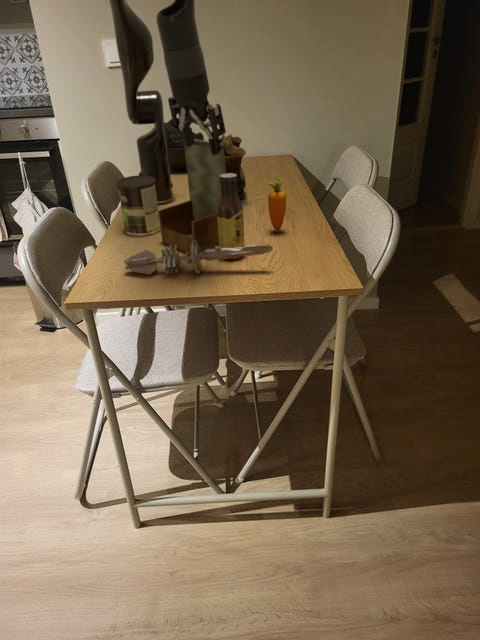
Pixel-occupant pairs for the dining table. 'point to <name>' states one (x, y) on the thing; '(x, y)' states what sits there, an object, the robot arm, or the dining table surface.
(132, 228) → the coffee can
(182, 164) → the coal bowl
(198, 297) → the dining table surface
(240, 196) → the pottery vessel
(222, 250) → the spaceship
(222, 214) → the sauce bottle
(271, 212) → the carrot
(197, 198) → the bottle rack
